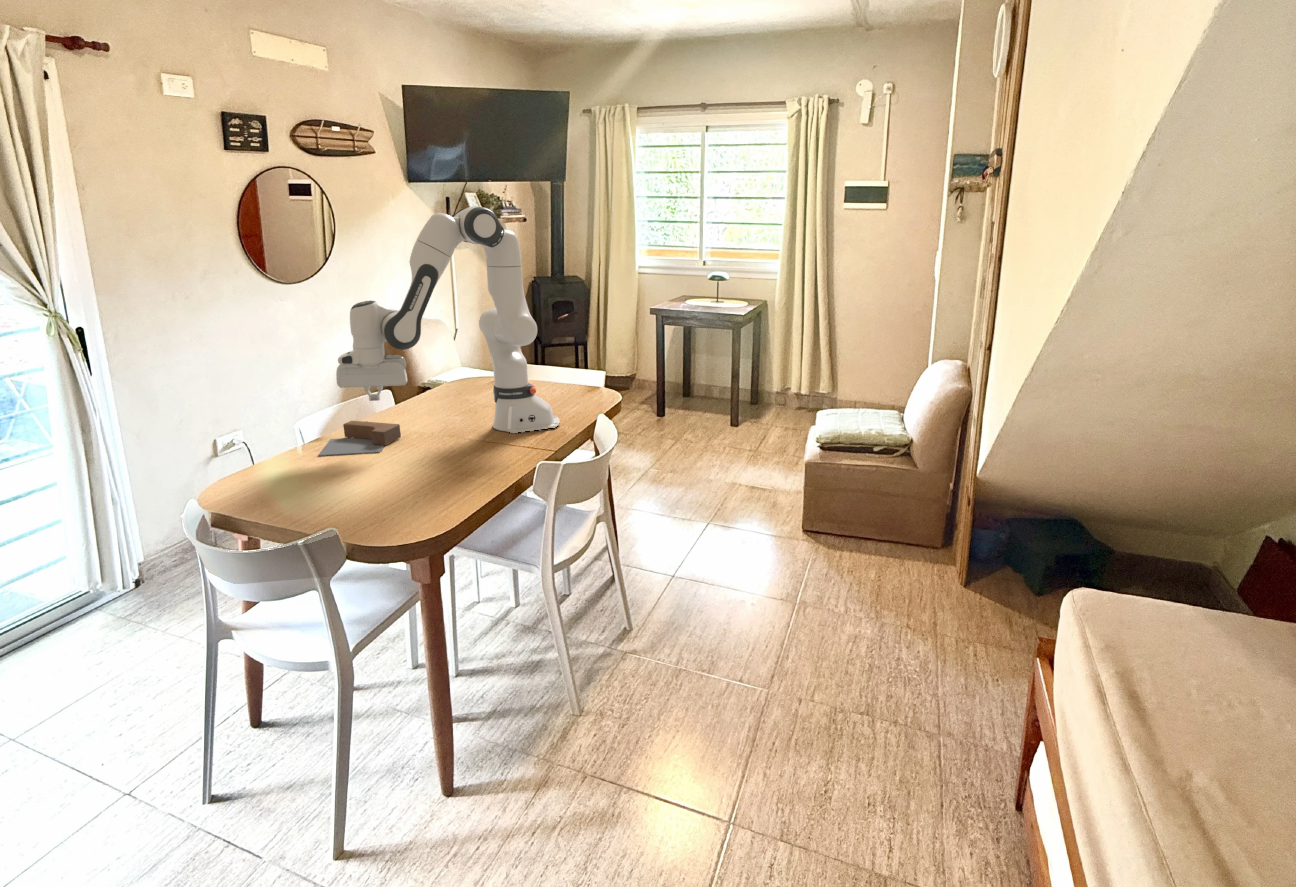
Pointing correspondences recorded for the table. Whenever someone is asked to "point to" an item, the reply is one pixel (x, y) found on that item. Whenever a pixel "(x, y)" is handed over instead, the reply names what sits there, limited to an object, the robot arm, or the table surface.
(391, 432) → the wooden block
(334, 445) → the mat
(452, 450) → the table surface
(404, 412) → the table surface
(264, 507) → the table surface
